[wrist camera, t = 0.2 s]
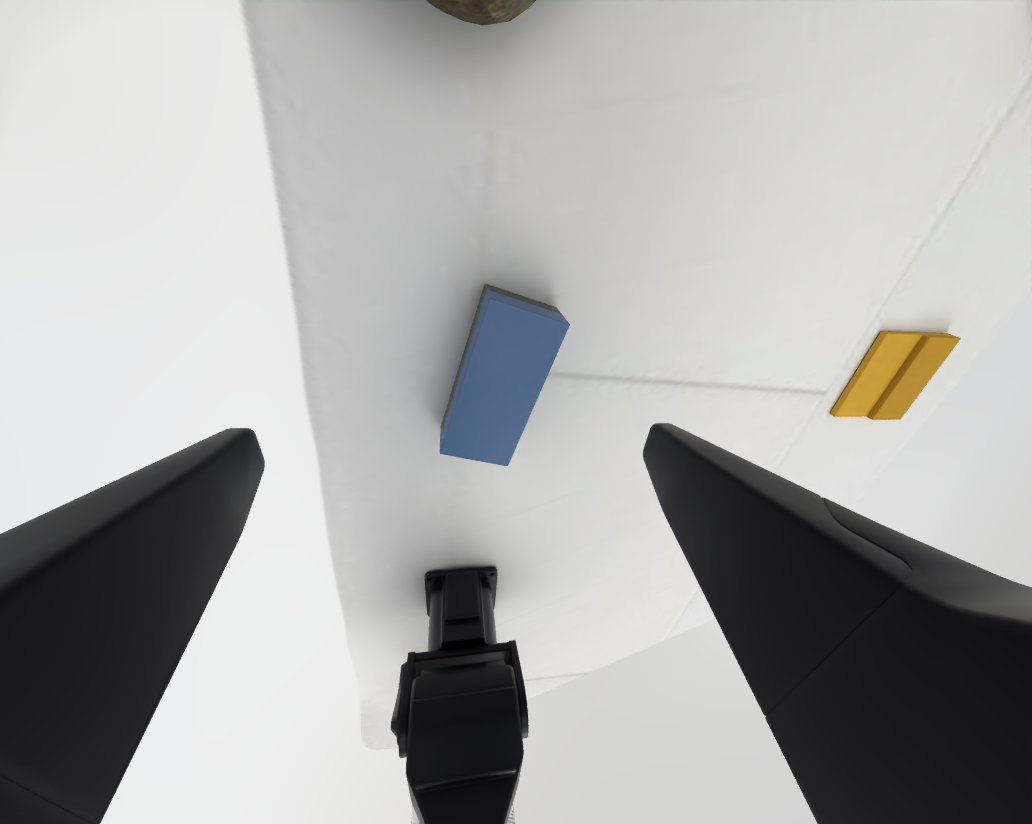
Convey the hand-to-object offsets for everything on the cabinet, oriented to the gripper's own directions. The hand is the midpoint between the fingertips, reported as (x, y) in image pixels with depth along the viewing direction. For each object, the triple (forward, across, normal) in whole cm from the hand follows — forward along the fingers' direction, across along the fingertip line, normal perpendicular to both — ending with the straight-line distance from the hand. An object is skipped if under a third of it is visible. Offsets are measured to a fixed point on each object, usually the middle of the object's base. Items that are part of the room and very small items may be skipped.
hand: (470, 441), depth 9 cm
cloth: (+14, -33, +5) cm, 36 cm away
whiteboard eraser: (+14, -2, +5) cm, 15 cm away
